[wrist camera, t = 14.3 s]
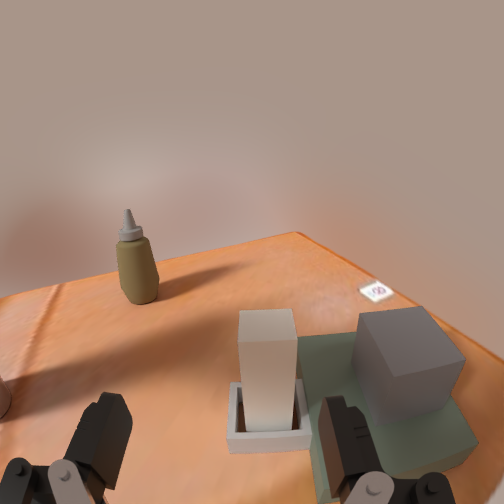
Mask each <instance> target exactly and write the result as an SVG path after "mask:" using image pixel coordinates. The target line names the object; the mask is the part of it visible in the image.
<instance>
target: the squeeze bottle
mask: <svg viewBox="0 0 504 504" xmlns="http://www.w3.org/2000/svg"><path fill="white" fill-rule="evenodd" d="M123 224H124V225H123V229H121V230H119V231H118V232H119V238H120V241H119V242H118V244H117V245H116V251H117V260H118V268H119V269H118V270H119V278H120V285H121V288H122V290H123V291H124V293H125V295H126V296H127V298H128V299H129V301H130V302H131V303H133V304H145V303H149V302H151V301H153V300H154V299H155V298H156V297H157V292H158V285H159V275H158V272H157V268H156V265H155V261H154V258H153V254H152V250H151V246H150V243H149V240H148V239H147V238H146V237H144V236H143V230H142V227H141V226H136V224H135V221H134V218H133V216H132V213H131V211H130V209H127V210H124V223H123Z"/></svg>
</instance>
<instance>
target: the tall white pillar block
mask: <svg viewBox="0 0 504 504" xmlns="http://www.w3.org/2000/svg"><path fill="white" fill-rule="evenodd" d="M237 343H238V354H239V365H240V375H241V385H242V396H243V406H244V415H245V425H246V432H272V431H288V430H292V418H293V406H294V392H295V378H296V362H297V343H298V339H297V333H296V328H295V323H294V318H293V313H292V308H291V309H269V310H240V315H239V328H238V341H237Z"/></svg>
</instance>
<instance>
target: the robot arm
mask: <svg viewBox="0 0 504 504" xmlns="http://www.w3.org/2000/svg"><path fill="white" fill-rule="evenodd" d="M10 403H11V393H10V391H9V389H8V388H7V386H6V384H5V383H4V381H3V379H2V378H1V376H0V418H1V417H2V416H3V415H4V414H5V413H6V412H7V410H8V408H9V406H10ZM132 424H133V422H132V416H131V414H130V412H129V410H128V408H127V405H126V403H125V401H124V399H123V397H122V395H121V394H115V393H108V392H103V393H102V394H101V396H100V398H99V400H98V402H97V403H95V402H92V403H91V404H90V405H89V406H88V407H87V408H86V409H85V410H84V412H83V415H82V417H81V419H80V422H79V424H78V426H77V429H76V430H75V433H74V435H73V437H72V440H71V442H70V444H69V447H68V449H67V451H66V454H65V456H64V458H63V459H61V460H57V461H55V462H53V463H52V464H51V465H50V466H35V465H31V464H30V463H29V462H28V461H27V460H26V459H24V458H14V459H12V460H11V461H10V462H9V463H8V465H7V467H6V470H5V472H4V475H3V478H2V480H1V483H0V504H109V503H108V501H107V499H106V497H105V496H104V491H105V488H107V489H111V490H114V489H115V486H116V482H117V478H118V475H119V471H120V468H121V464H122V461H123V457H124V454H125V450H126V447H127V443H128V440H129V437H130V434H131V430H132ZM318 431H319V436H320V441H321V446H322V451H323V456H324V462H325V467H326V472H327V477H328V482H329V488H330V493H331V498H332V499H333V498H340V503H341V504H456V503H455V499H454V496H453V493H452V490H451V487H450V484H449V481H448V479H447V478H446V477H445V476H444V475H443V474H441V473H438V472H429V473H426V474H424V475H423V476H422V477H420V479H397V478H394V477H391V476H389V475H388V474H387V473H386V472H385V471H384V470H383V468H382V466H381V464H380V460H379V457H378V454H377V451H376V448H375V445H374V442H373V439H372V436H371V433H370V430H369V428H368V424H367V421H366V418H365V416H364V414H363V413H362V412H361V411H360V410H359V409H358V408H357V407H356V406H352V407H347V405H346V402H345V399H344V396H343V395H337V396H329V397H323V400H322V405H321V409H320V414H319V418H318Z"/></svg>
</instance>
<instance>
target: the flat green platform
mask: <svg viewBox="0 0 504 504" xmlns="http://www.w3.org/2000/svg"><path fill="white" fill-rule="evenodd" d="M297 339H298V343H297V362H296V373H297V379H295V392H294V401H295V407H296V414H297V421H298V428H299V430H288V431H272V432H244V433H238V415H239V403H243V396H242V385H241V382H230V393H229V408H228V422H227V438H226V439H227V444H228V449H229V453H271V452H287V451H299V450H308V449H309V450H310V456H311V463H312V469H313V475H314V482H315V489H316V495H317V502H318V504H325V503H332V502H337V501H340V498H333V499H332V498H331V493H330V488H329V482H328V477H327V472H326V467H325V462H324V456H323V451H322V446H321V441H320V436H319V431H318V418H319V414H320V409H321V405H322V400H323V397H329V396H337V395H343V396H344V399H345V402H346V405H347V407H352V406H356V407H357V408H358V409H359V410H360V411H361V412H362V413H363V414H364V416H365V418H366V421H367V424H368V428H369V430H370V433H371V436H372V439H373V442H374V445H375V448H376V451H377V454H378V457H379V460H380V464H381V466H382V468H383V470H384V471H385V472H386V473H387V474H388V475H389V476H391V477H394V478H397V479H420V477H422V476H423V475H424V474H426V473H429V472H438V473H441V472H443V471H446V470H448V469H451V468H453V467H455V466H458V465H460V464H462V463H463V462H464V461H465V460H466V458H467V457H468V456H469V455H470V454H471V452H472V451H473V450H474V449H475V448H476V446H477V445H478V444H479V442H478V441H477V439H476V437H475V435H474V433H473V432H472V430H471V428H470V426H469V425H468V423H467V421H466V420H465V418H464V416H463V414H462V413H461V411H460V409H459V408H458V406H457V404H456V403H455V401H454V400H453V398H452V396H451V395H450V393H451V391H452V389H453V387H454V385H455V383H456V381H457V379H458V377H459V375H460V372H461V370H462V368H463V366H464V363H465V361H466V358H465V357H464V356H463V354H462V353H461V352H460V351H459V349H458V348H457V347H456V346H455V344H454V343H453V342H452V341H451V340H450V338H449V337H448V336H447V335H446V333H445V332H444V331H443V330H442V329H441V327H440V326H439V325H438V324H437V323H436V322H435V320H434V319H433V318H432V317H431V316H430V315H429V313H428V312H427V311H426V310H425V309H424V308H423V306H418V307H410V308H402V309H394V310H386V311H377V312H367V313H359V320H358V326H357V332H349V333H339V334H328V335H317V336H304V337H297Z"/></svg>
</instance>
